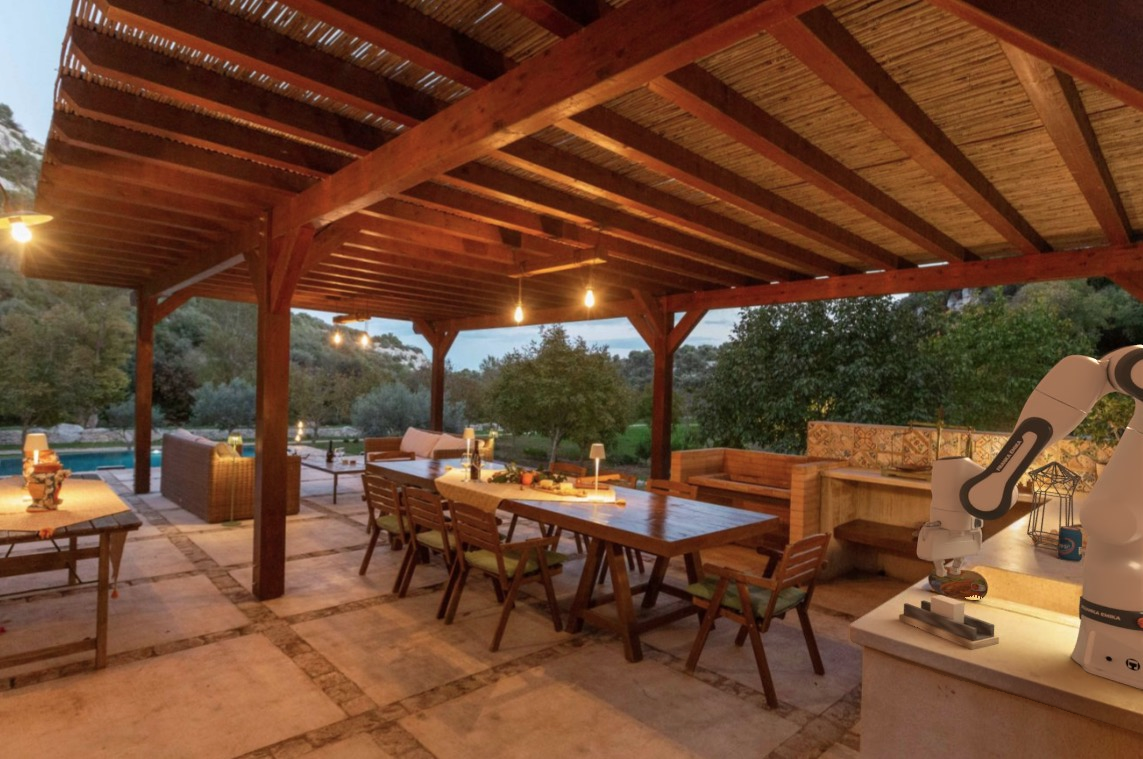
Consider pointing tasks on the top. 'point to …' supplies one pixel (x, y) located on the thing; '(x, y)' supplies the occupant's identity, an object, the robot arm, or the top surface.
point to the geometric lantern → (1035, 473)
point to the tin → (959, 584)
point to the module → (948, 608)
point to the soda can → (1070, 544)
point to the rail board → (950, 626)
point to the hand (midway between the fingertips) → (948, 575)
